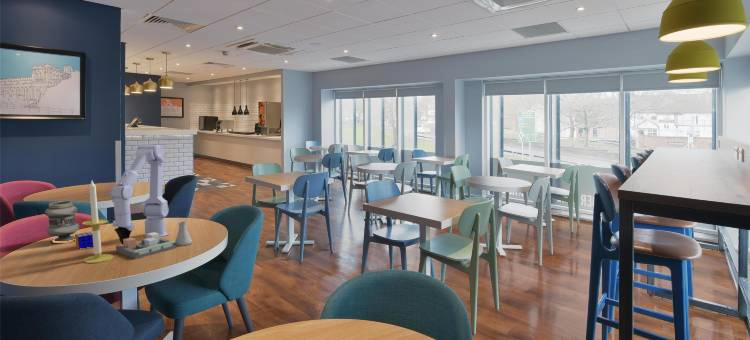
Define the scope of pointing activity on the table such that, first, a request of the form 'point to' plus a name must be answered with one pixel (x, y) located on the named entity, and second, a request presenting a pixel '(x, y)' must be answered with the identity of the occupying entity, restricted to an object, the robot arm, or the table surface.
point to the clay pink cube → (129, 243)
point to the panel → (146, 248)
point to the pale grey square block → (153, 236)
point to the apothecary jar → (62, 220)
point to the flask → (183, 235)
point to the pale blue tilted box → (150, 242)
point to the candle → (95, 229)
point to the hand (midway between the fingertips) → (124, 243)
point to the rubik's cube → (84, 240)
